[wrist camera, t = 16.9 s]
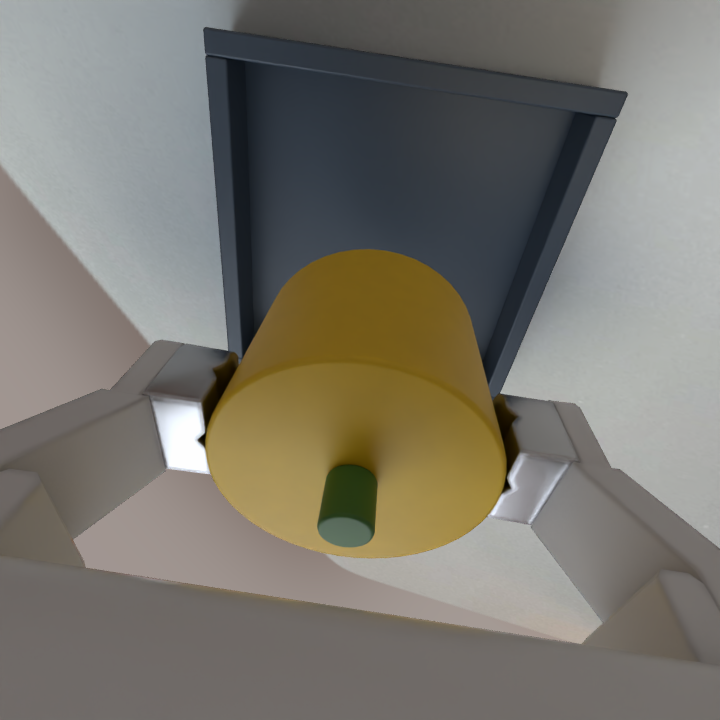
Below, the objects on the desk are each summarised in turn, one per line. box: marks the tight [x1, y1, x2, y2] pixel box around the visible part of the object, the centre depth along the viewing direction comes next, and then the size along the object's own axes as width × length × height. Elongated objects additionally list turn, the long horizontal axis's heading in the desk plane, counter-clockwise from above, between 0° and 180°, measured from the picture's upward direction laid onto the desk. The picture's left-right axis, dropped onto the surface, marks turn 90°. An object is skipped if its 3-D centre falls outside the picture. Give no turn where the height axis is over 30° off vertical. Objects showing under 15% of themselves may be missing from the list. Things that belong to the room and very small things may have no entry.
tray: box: [203, 27, 628, 401], centre depth 15 cm, size 11×11×2 cm
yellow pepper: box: [205, 249, 507, 558], centre depth 8 cm, size 5×5×5 cm
